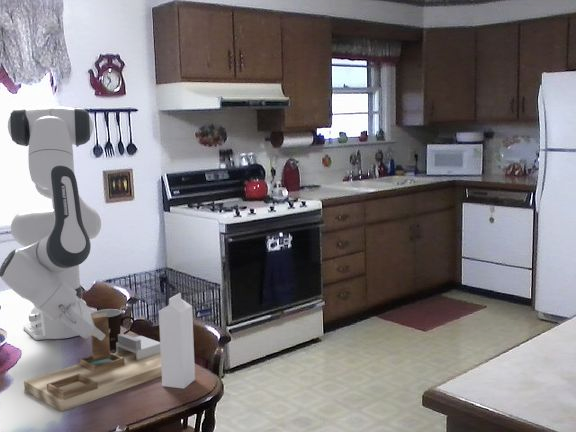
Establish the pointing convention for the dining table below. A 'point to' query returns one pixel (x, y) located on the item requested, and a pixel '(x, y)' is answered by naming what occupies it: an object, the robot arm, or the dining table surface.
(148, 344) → the cover
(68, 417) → the dining table surface
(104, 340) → the block
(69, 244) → the robot arm
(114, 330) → the coffee mug
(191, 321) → the milk
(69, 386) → the board
